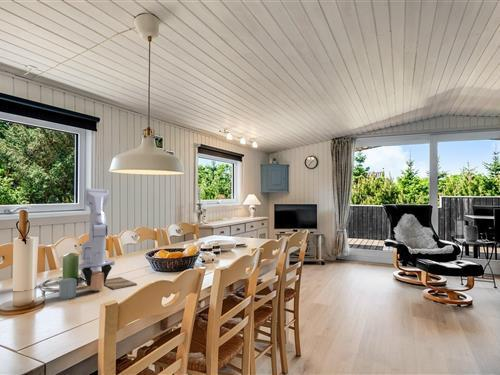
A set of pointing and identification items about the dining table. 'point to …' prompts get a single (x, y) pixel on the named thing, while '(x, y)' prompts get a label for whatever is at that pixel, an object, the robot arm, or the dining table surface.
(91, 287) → the terracotta cup
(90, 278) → the robot arm
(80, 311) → the dining table surface
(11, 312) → the dining table surface
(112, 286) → the walnut board
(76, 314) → the dining table surface
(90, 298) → the dining table surface
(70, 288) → the slate blue cup
